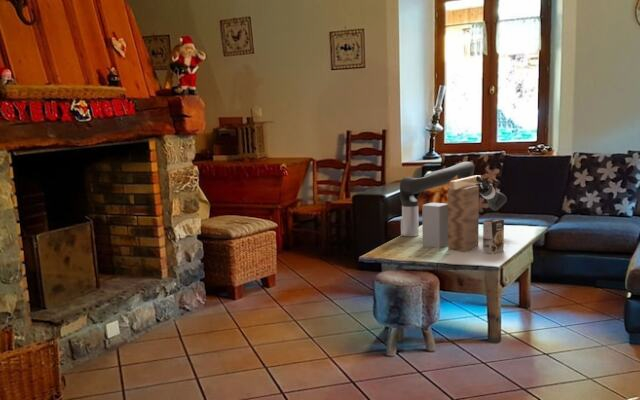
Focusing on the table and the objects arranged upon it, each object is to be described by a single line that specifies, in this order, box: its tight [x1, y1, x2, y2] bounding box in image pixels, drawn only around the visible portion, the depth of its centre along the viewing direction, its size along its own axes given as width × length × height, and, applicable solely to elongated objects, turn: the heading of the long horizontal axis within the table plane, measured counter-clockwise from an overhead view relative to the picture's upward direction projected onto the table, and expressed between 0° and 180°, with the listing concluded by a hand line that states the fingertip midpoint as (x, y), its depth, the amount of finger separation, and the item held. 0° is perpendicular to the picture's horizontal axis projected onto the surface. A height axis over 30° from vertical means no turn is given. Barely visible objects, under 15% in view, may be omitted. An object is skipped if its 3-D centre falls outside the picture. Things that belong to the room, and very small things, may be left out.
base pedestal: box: [421, 202, 448, 249], centre depth 323 cm, size 10×10×22 cm
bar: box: [449, 174, 482, 190], centre depth 314 cm, size 3×28×4 cm, turn 140°
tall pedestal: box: [447, 185, 480, 253], centre depth 314 cm, size 10×14×32 cm
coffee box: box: [482, 218, 505, 255], centre depth 306 cm, size 9×6×16 cm
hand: (473, 177), depth 320 cm, fingers closed on bar, 3 cm apart
